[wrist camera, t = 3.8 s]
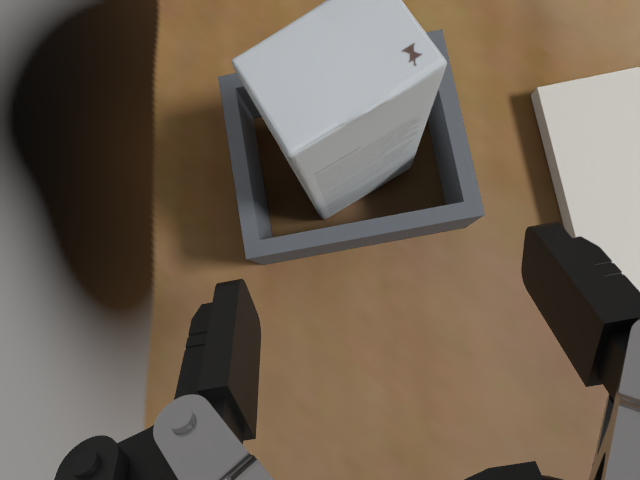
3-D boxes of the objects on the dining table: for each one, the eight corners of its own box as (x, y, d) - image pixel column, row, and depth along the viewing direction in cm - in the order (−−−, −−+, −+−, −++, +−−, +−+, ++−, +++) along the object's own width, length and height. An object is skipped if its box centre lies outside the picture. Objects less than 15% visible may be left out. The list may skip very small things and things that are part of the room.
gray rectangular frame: (238, 108, 28) (218, 76, 24) (429, 68, 27) (442, 29, 23) (263, 264, 26) (245, 259, 22) (465, 227, 26) (484, 214, 22)
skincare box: (372, 109, 27) (383, -40, 15) (412, 169, 26) (455, 62, 14) (284, 162, 27) (225, 56, 15) (321, 223, 26) (290, 162, 14)
